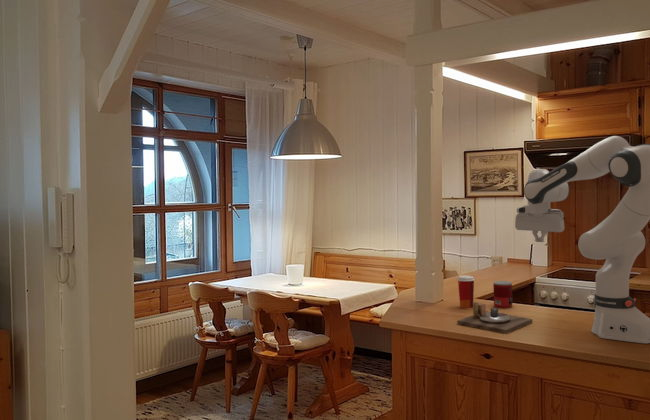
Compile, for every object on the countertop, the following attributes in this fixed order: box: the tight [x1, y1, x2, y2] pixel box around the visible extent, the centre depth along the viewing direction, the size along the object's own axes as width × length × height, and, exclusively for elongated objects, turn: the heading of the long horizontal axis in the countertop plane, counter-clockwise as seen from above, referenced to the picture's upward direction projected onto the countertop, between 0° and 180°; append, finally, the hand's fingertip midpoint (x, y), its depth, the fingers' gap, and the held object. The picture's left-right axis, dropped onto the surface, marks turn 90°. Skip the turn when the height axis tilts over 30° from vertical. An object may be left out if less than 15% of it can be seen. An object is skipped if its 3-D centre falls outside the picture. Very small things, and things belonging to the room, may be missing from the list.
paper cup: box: [456, 274, 476, 309], centre depth 262 cm, size 8×8×14 cm
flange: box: [478, 302, 510, 323], centre depth 235 cm, size 15×12×5 cm
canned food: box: [492, 280, 513, 309], centre depth 261 cm, size 8×8×11 cm
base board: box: [456, 301, 533, 335], centre depth 234 cm, size 22×20×8 cm
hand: (539, 241), depth 242 cm, fingers closed
